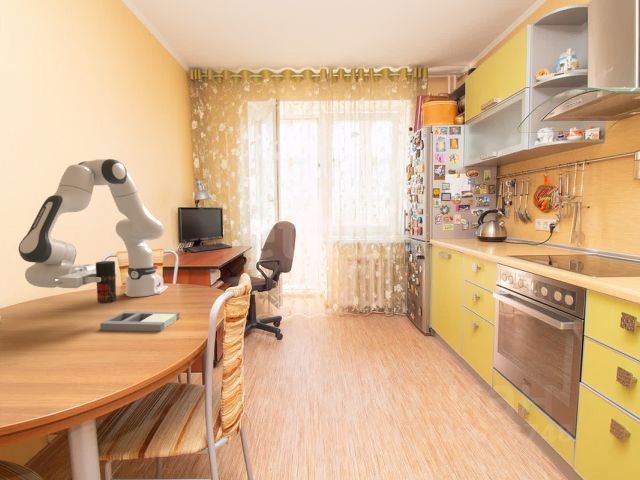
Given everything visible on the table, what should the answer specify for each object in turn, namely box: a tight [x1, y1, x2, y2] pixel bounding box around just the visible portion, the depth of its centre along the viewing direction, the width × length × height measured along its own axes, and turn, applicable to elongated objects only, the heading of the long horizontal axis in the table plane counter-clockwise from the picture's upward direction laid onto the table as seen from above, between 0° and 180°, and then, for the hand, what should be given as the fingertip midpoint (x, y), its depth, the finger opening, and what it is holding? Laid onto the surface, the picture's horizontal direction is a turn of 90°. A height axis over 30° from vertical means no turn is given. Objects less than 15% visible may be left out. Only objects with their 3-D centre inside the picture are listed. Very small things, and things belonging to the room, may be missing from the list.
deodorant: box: [95, 260, 117, 305], centre depth 119 cm, size 6×6×15 cm
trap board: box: [99, 310, 180, 332], centre depth 120 cm, size 14×22×2 cm, turn 88°
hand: (108, 277), depth 119 cm, fingers closed on deodorant, 6 cm apart
